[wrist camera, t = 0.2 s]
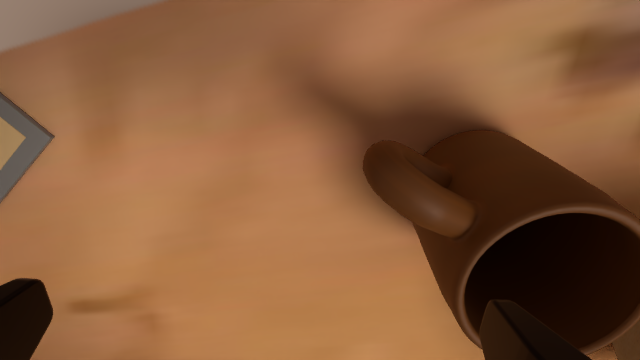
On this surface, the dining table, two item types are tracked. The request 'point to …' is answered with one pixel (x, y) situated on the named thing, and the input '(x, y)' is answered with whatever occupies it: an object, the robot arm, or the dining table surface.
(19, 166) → the grey rectangular board
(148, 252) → the dining table surface
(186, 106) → the dining table surface
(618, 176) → the dining table surface
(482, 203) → the mug
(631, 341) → the plant pot
